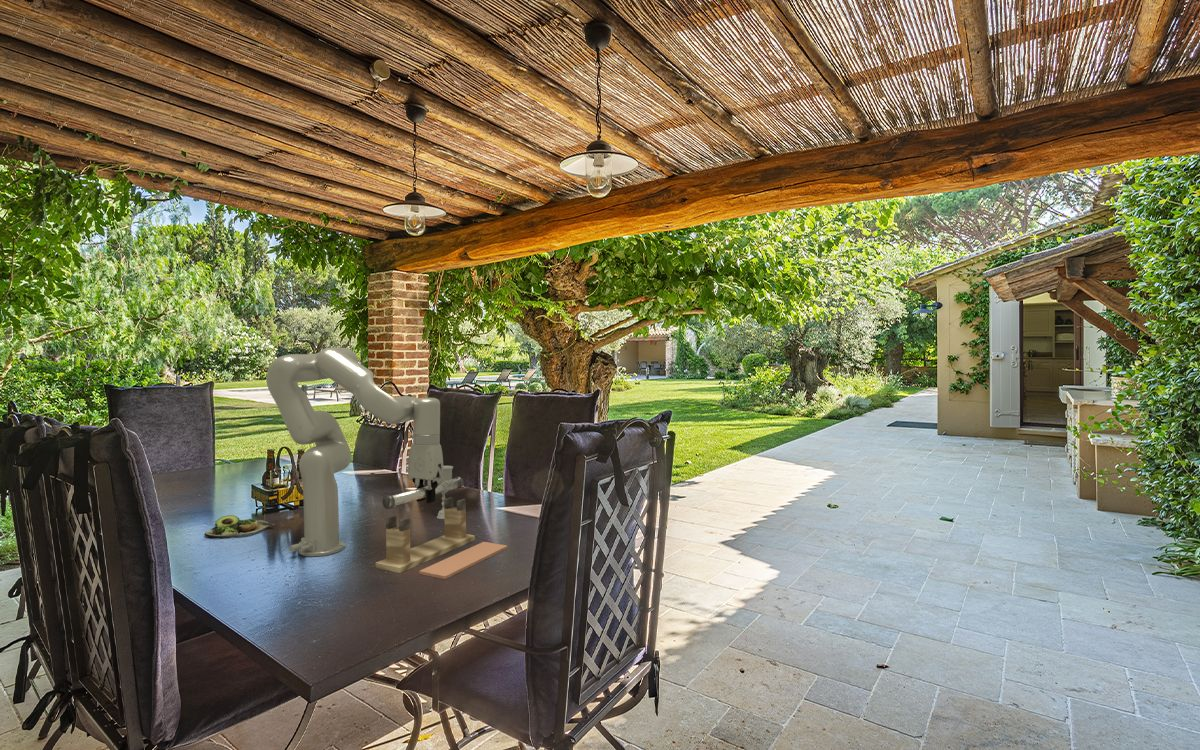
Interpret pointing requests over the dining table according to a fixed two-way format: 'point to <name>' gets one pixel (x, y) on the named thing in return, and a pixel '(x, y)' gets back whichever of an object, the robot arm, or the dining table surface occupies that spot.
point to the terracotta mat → (463, 560)
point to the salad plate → (236, 527)
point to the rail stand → (406, 558)
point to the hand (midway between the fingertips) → (425, 500)
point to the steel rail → (420, 493)
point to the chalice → (447, 476)
